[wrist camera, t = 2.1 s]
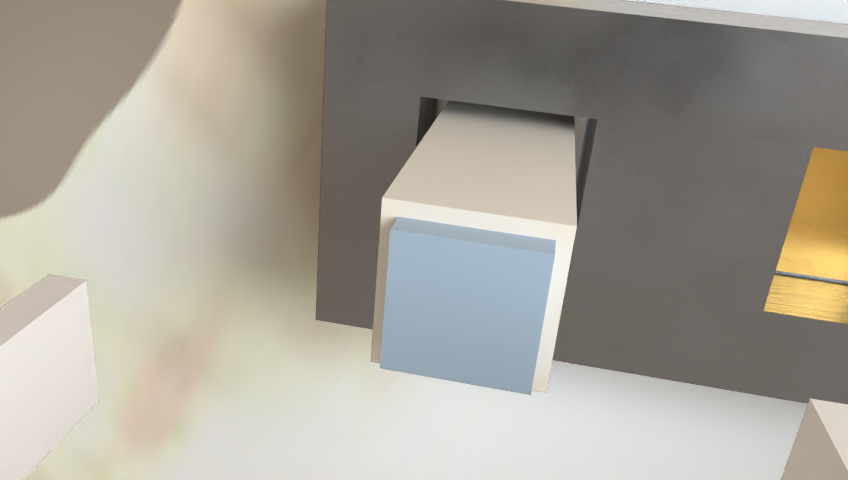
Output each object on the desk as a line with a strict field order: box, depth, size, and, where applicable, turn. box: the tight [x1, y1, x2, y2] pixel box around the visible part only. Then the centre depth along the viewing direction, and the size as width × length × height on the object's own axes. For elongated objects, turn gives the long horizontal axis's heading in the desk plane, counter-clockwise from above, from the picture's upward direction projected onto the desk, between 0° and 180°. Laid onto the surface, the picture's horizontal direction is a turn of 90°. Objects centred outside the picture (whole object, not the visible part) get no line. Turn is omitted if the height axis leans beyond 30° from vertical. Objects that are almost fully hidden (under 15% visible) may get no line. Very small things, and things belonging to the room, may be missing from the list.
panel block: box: [316, 0, 848, 405], centre depth 26 cm, size 24×12×4 cm, turn 85°
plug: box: [371, 100, 577, 395], centre depth 22 cm, size 4×4×12 cm
